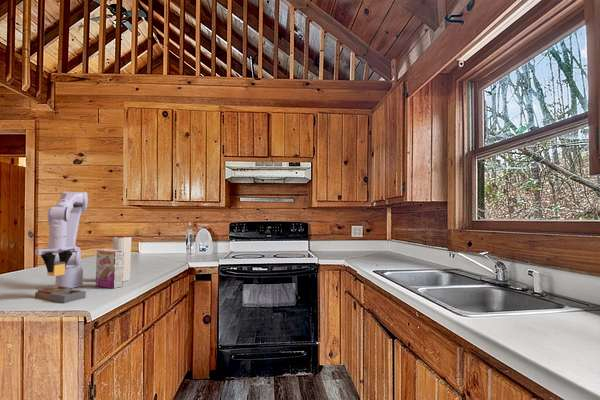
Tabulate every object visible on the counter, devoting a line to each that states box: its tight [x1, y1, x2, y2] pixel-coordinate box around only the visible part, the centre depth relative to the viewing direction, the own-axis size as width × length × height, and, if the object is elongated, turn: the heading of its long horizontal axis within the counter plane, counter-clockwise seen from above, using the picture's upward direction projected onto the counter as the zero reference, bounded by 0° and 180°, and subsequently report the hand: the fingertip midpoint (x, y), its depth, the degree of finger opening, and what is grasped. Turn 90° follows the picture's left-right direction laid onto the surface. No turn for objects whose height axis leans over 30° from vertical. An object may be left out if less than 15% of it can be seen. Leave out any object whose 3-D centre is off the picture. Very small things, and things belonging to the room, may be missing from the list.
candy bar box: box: [95, 248, 124, 290], centre depth 146 cm, size 11×5×16 cm, turn 71°
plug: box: [46, 261, 65, 277], centre depth 129 cm, size 4×4×5 cm
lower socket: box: [49, 288, 87, 304], centre depth 124 cm, size 8×8×3 cm
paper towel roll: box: [112, 236, 133, 283], centre depth 157 cm, size 7×6×21 cm
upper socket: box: [34, 286, 73, 301], centre depth 128 cm, size 9×9×3 cm
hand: (56, 271), depth 129 cm, fingers closed on plug, 4 cm apart
